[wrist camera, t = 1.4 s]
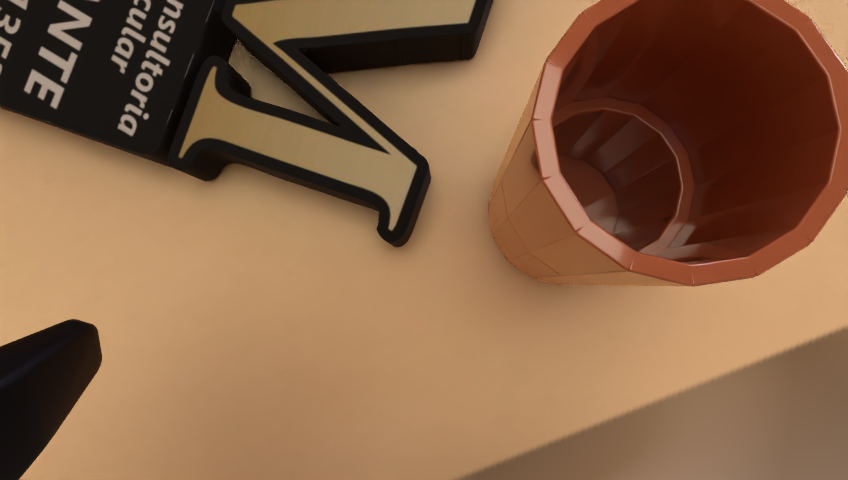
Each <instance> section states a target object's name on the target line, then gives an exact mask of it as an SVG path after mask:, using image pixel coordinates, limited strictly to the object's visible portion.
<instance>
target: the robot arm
mask: <svg viewBox="0 0 848 480" xmlns="http://www.w3.org/2000/svg"><path fill="white" fill-rule="evenodd" d="M101 362H102V353H101V347H100V341H99V335H98V330H97V328H96V327H95V326H94V325H93V324H90V323H86V322H83V321H80V320H76V319H71V320H67V321H64V322H62V323H59V324H56V325H54V326H51V327H49V328H46V329H44V330H41V331H39V332H36V333H34V334H31V335H29V336H26V337H23V338H21V339H18V340H16V341H13V342H11V343H8V344H6V345H3V346H1V347H0V480H19V479H20V477H21V476H22V475H23V474H24V473H25V471H26V470H27V469H28V468H29V467H30V465H31V464H32V463H33V462H34V461H35V459H36V458H37V457H38V456H39V454H40V453H41V452H42V451H43V449H44V448H45V447H46V446H47V444H48V443H49V441H50V440H51V439H52V437H53V436H54V435H55V433H56V432H57V430H58V429H59V427H60V426H61V424H62V423H63V421H64V420H65V418H66V417H67V415H68V414H69V413H70V411H71V410H72V408H73V407H74V405H75V404H76V402H77V401H78V399H79V398H80V396H81V395H82V393H83V392H84V390H85V389H86V388H87V386H88V385H89V383H90V382H91V380H92V379H93V377H94V376H95V374H96V373H97V371H98V370H99V367H100V365H101Z"/></svg>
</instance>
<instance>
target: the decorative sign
mask: <svg viewBox="0 0 848 480" xmlns="http://www.w3.org/2000/svg"><path fill="white" fill-rule="evenodd" d="M492 3H493V0H0V108H3V109H6V110H9V111H12V112H15V113H18V114H21V115H23V116H26V117H29V118H32V119H35V120H38V121H40V122H43V123H46V124H49V125H52V126H55V127H58V128H60V129H63V130H66V131H69V132H72V133H75V134H78V135H80V136H83V137H86V138H89V139H92V140H95V141H97V142H100V143H103V144H106V145H109V146H112V147H115V148H117V149H120V150H123V151H126V152H129V153H132V154H135V155H137V156H140V157H143V158H146V159H149V160H152V161H154V162H157V163H160V164H163V165H166V166H169V167H173V168H175V169H177V170H180V171H182V172H184V173H187V174H189V175H191V176H194V177H196V178H199V179H201V180H204V181H210V180H214V179H215V178H217V176H218V175H219V174H220V172H221V171H222V169H223V168H224V166H225V165H227V164H229V163H238V164H242V165H246V166H249V167H252V168H255V169H257V170H260V171H262V172H265V173H268V174H270V175H273V176H276V177H278V178H281V179H284V180H287V181H290V182H294V183H297V184H300V185H303V186H306V187H309V188H311V189H314V190H317V191H320V192H323V193H326V194H329V195H332V196H335V197H338V198H341V199H344V200H346V201H349V202H352V203H356V204H359V205H362V206H365V207H368V208H371V209H374V210H376V211H378V212H379V223H378V227H377V231H378V233H379V235H380V236H381V237H382V238H383V239H384V240H385V241H387V242H388V243H390V244H391V245H393V246H395V247H400V246H403V245H404V244H405V243H406V242H407V241H408V240H409V238H410V236H411V234H412V231H413V229H414V226H415V223H416V220H417V217H418V215H419V212H420V209H421V206H422V203H423V200H424V198H425V195H426V192H427V189H428V187H429V184H430V180H431V176H430V170H429V165H428V162H427V160H426V159H425V158H424V157H423V156H422V155H420V154H419V153H418V152H417V151H416V150H415V149H414V148H412V147H411V146H410V145H409V144H407V143H406V142H405V141H404V140H403V139H401V138H400V137H399V136H398V135H397V134H396V133H395V132H393V131H392V130H391V129H390V128H389V127H388V126H386V125H385V124H384V123H383V122H382V121H381V120H380V119H378V118H377V117H376V116H375V115H374V114H373V113H371V112H370V111H369V110H368V109H367V108H366V107H365V106H363V105H362V104H361V103H360V102H359V101H358V100H356V99H355V98H354V97H353V96H352V95H351V94H349V93H348V92H347V91H346V90H344V89H343V88H342V87H341V86H339V85H338V84H337V83H336V82H335V81H334V80H333V79H332V78H331V77H329V76H328V75H327V74H325V73H326V72H335V71H345V70H356V69H366V68H376V67H386V66H396V65H403V64H404V65H407V64H416V63H431V62H445V61H455V60H469V59H471V58H473V57H474V55H475V53H476V51H477V49H478V46H479V43H480V40H481V37H482V33H483V30H484V27H485V24H486V21H487V18H488V15H489V12H490V9H491V6H492ZM235 36H236V37H237V39H238V40H239V41H240V42H241V43H242V44H243V45H244V47H245V48H246V49H247V50H248V51H249V52H250V53H251V54H252V55H253V56H255V57H256V58H257V59H258V60H259V61H261V62H262V63H263V64H264V65H265V66H266V67H267V68H269V69H270V70H271V71H272V72H273V73H274V74H276V75H277V76H278V77H279V78H280V79H282V80H283V81H284V82H285V83H286V84H288V85H289V86H290V87H291V88H292V89H293V90H294V91H296V92H297V94H299V95H300V96H301V97H302V98H303V99H304V100H305V101H307V102H308V103H309V104H310V105H311V106H312V107H314V108H315V109H316V110H317V111H318V112H319V113H320V114H321V115H323V116H324V117H325V118H326V119H327V120H328V121H329V122H330V123H332V124H333V125H332V124H329V123H326V122H323V121H321V120H318V119H315V118H312V117H309V116H306V115H304V114H301V113H298V112H295V111H292V110H289V109H286V108H282V107H279V106H275V105H272V104H268V103H265V102H261V101H258V100H255V99H252V98H249V96H250V90H251V89H250V86H249V84H248V83H247V82H246V81H245V80H244V79H243V78H242V77H241V76H240V75H239V74H238V73H237V72H236V71H235V70H234V69H233V68H232V67H231V66H230V65H229V64H228V63H227V62H226V60H227V57H228V55H229V52H230V49H231V47H232V44H233V42H234V39H235ZM324 72H325V73H324Z"/></svg>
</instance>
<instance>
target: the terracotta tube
mask: <svg viewBox="0 0 848 480" xmlns="http://www.w3.org/2000/svg"><path fill="white" fill-rule="evenodd" d="M845 69H846V67H845V66H844V64H843V63H842V61H841V60H840V59H839V57H838V56H837V54H836V53H835V52H834V50H833V49H832V47H831V46H830V45H829V43H828V42H827V40H826V39H825V38H824V36H823V35H822V33H821V32H820V30H819V29H818V28H817V26H816V25H815V23H814V22H813V21H812V19H809V17H808V16H807V15H806V14H804V13H802V12H801V11H799V10H798V9H796V8H795V7H793V6H792V5H790V4H788V3H787V2H785V1H784V0H601V1H599V2H597V3H596V4H594V5H593V6H591V7H589V8H588V9H586V10H584V11H583V12H582V13H581V14H579V15H578V17H577V18H576V20H575V21H574V22H573V24H572V25H571V26H570V28H569V29H568V30H567V32H566V33H565V34H564V36H563V37H562V38H561V40H560V41H559V43H558V44H557V45H556V47H555V48H554V49H553V51H552V52H551V53H550V55H549V56H548V57H547V59H546V61H545V63H544V65H543V67H542V70H541V72H540V74H539V77H538V79H537V81H536V84H535V86H534V88H533V91H532V93H531V95H530V98H529V100H528V103H527V105H526V107H525V110H524V112H523V114H522V117H521V119H520V121H519V124H518V126H517V128H516V131H515V133H514V135H513V138H512V140H511V142H510V145H509V147H508V150H507V152H506V154H505V157H504V159H503V161H502V164H501V166H500V168H499V171H498V173H497V175H496V178H495V180H494V184H493V188H492V192H491V196H490V200H489V204H488V207H489V208H488V212H489V218H490V224H491V230H492V235H493V238H494V239H495V241H496V243H497V244H498V246H499V247H500V249H501V251H502V252H503V254H504V256H505V257H506V259H507V260H509V262H510V263H512V264H513V265H514V266H516V267H517V268H518V269H520V270H521V271H523V272H524V273H525V274H527V275H528V276H530V277H532V278H533V279H537V280H541V281H545V282H549V283H553V284H557V285H604V286H700V285H706V284H713V283H720V282H727V281H733V280H740V279H747V278H753V277H755V276H759V275H760V274H762V273H764V272H765V271H767V270H769V269H770V268H772V267H774V266H775V265H777V264H779V263H780V262H782V261H783V260H785V259H787V258H788V257H790V256H792V255H793V254H795V253H797V252H798V251H800V250H802V249H803V248H805V247H807V246H808V245H809V244H810V243H811V242H813V241H814V239H815V238H816V236H817V235H818V233H819V232H820V231H821V229H822V228H823V226H824V225H825V224H826V222H827V221H828V219H829V218H830V217H831V215H832V214H833V212H834V211H835V209H836V208H837V207H838V205H839V204H840V202H841V201H842V200H843V198H844V197H845V195H846V194H847V191H848V72H847V70H845Z"/></svg>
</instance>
